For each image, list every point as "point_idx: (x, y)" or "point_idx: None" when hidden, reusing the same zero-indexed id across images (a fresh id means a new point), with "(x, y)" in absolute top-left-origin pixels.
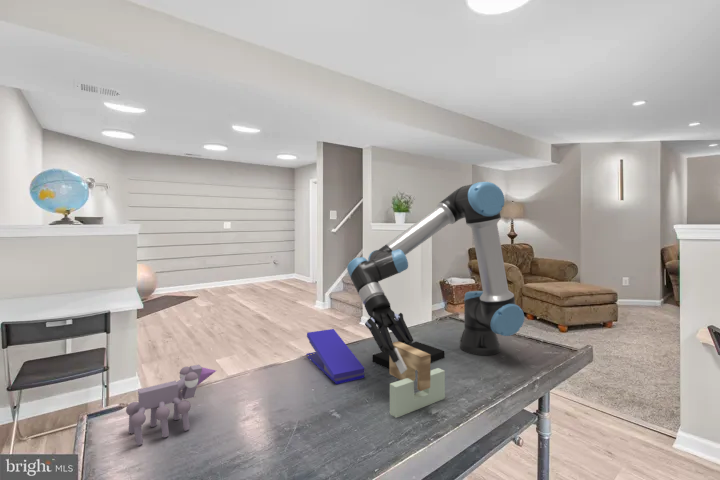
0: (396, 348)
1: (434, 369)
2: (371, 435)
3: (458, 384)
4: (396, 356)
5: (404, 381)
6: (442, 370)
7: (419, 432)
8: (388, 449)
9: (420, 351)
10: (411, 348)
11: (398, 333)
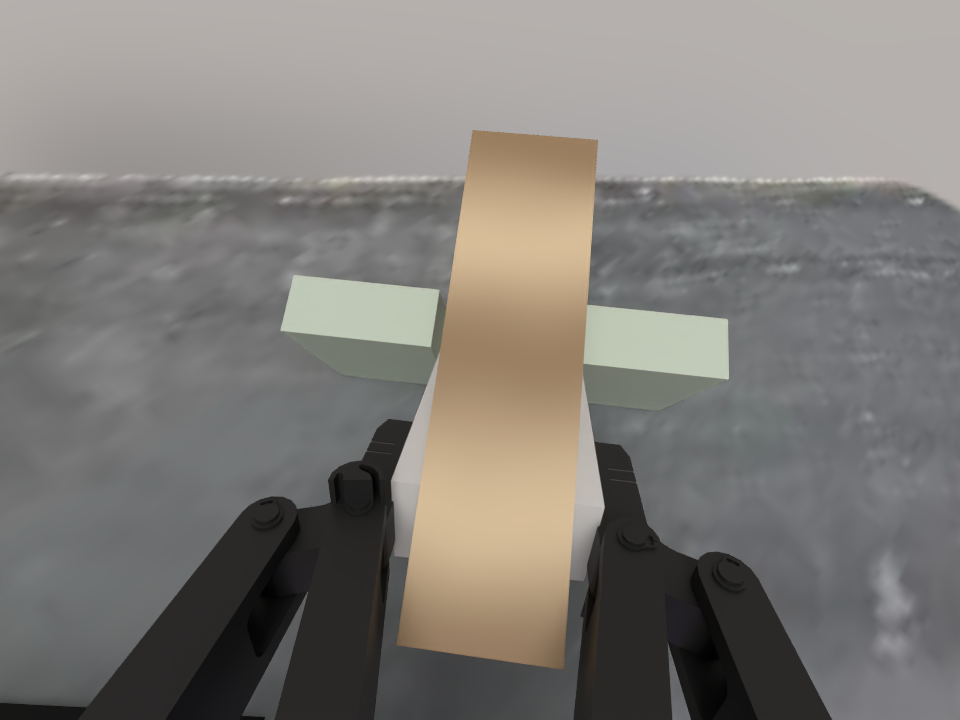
0: (581, 498)
1: (322, 330)
2: (827, 344)
3: (165, 377)
4: (601, 463)
5: (625, 338)
6: (299, 287)
7: (651, 241)
8: (819, 244)
9: (484, 229)
10: (485, 344)
11: (363, 703)
